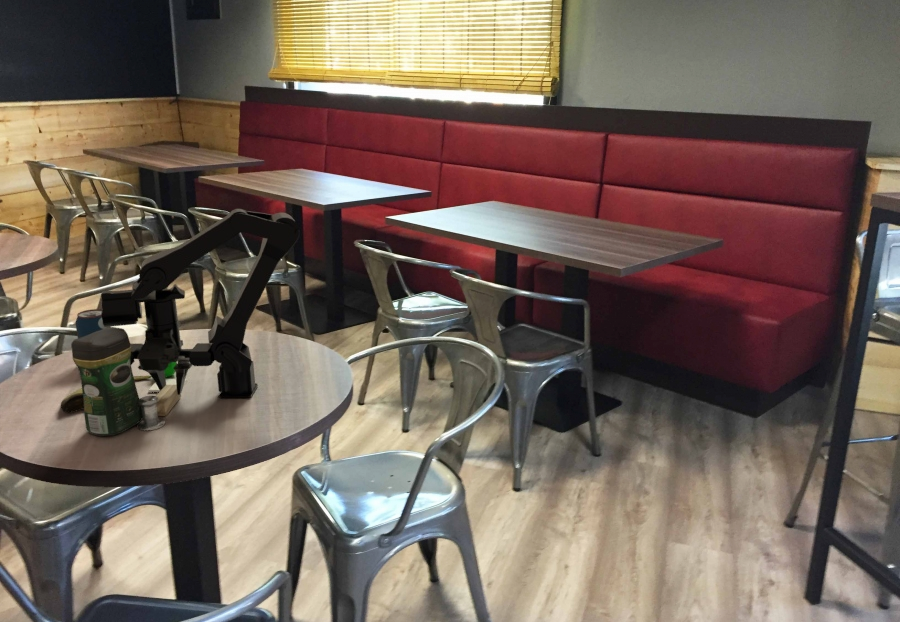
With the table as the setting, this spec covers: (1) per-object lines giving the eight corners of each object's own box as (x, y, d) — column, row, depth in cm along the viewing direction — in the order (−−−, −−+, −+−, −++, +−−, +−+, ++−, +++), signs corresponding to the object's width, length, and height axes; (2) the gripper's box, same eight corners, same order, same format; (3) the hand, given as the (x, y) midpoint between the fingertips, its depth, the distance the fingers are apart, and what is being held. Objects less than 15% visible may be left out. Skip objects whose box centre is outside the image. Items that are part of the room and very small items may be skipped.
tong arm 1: (174, 396, 150) (173, 384, 150) (153, 420, 140) (152, 407, 139) (167, 396, 150) (166, 384, 150) (146, 420, 140) (144, 407, 139)
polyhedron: (162, 371, 164) (160, 350, 163) (182, 373, 163) (180, 352, 162) (149, 379, 159) (146, 358, 158) (169, 381, 158) (167, 360, 157)
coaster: (187, 381, 158) (186, 378, 158) (177, 392, 153) (177, 389, 153) (159, 381, 158) (158, 378, 158) (148, 392, 153) (148, 390, 152)
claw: (92, 418, 142) (90, 401, 141) (45, 414, 143) (42, 398, 143) (151, 381, 160) (149, 366, 159) (109, 378, 162) (106, 363, 161)
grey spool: (168, 419, 141) (165, 394, 139) (159, 430, 136) (156, 404, 135) (143, 419, 141) (139, 394, 139) (133, 430, 136) (129, 404, 135)
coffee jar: (119, 412, 143) (103, 321, 138) (151, 418, 140) (136, 325, 135) (78, 434, 135) (59, 337, 129) (110, 441, 132) (93, 342, 126)
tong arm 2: (181, 396, 150) (179, 384, 150) (162, 420, 140) (160, 407, 139) (173, 396, 150) (172, 384, 150) (154, 420, 140) (152, 407, 139)
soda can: (121, 361, 169) (114, 311, 166) (93, 371, 164) (85, 319, 160) (103, 355, 173) (96, 306, 170) (75, 364, 168) (67, 314, 164)
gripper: (96, 335, 136) (108, 412, 141) (197, 335, 137) (206, 411, 142) (120, 315, 147) (131, 387, 152) (215, 315, 147) (222, 387, 152)
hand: (171, 394), depth 149 cm, fingers open, 3 cm apart
